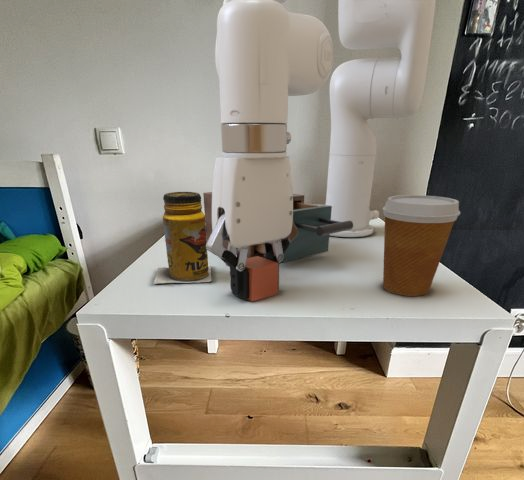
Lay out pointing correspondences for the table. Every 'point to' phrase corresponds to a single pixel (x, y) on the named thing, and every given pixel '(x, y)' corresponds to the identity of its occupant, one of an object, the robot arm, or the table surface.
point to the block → (262, 278)
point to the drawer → (311, 231)
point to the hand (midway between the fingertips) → (255, 291)
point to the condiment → (184, 240)
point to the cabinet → (225, 244)
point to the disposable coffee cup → (415, 240)
